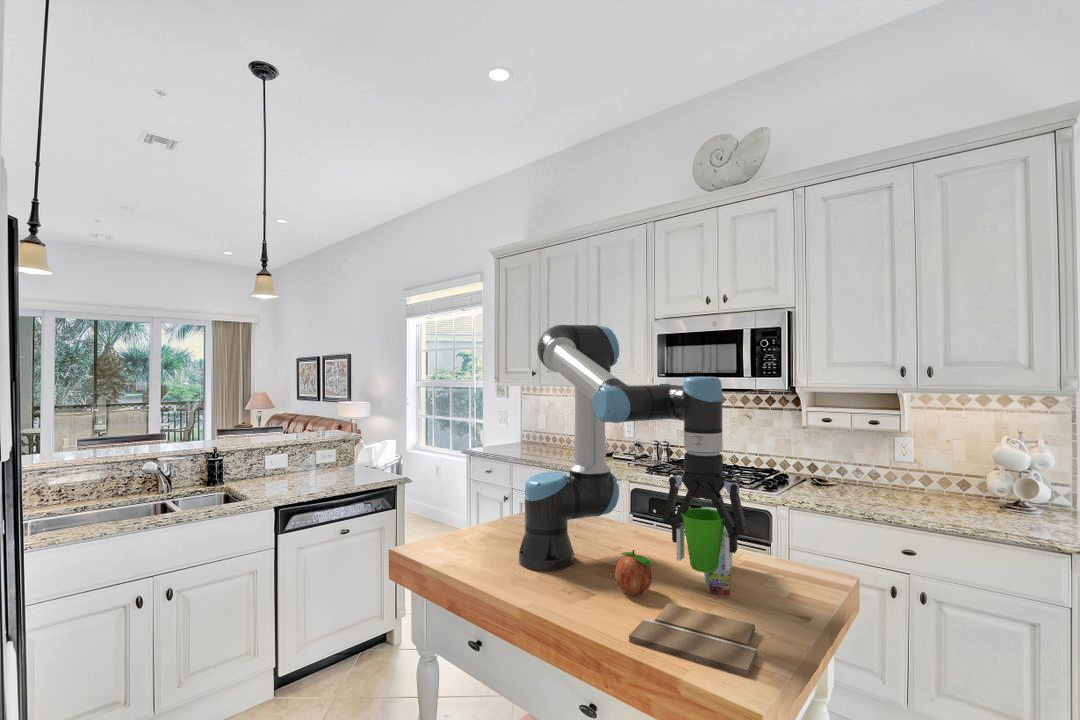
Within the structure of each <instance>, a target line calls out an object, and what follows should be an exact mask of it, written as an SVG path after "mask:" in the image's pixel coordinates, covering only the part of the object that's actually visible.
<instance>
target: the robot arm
mask: <svg viewBox="0 0 1080 720" xmlns="http://www.w3.org/2000/svg"><path fill="white" fill-rule="evenodd" d="M619 345H620V344H619V340H618V338H617V336H616V333H614V332H613V330H612V329H611V328H609V327H608V326H605V325H597V324H593V325H590V324H589V325H588V324H585V325H583V324H581V325H580V324H559V325H554V326H552V327H550V328H549V329H546V331H545V332H543V333H542V334H541V336H540V338H539V339H538V341H537V349H536V351H537V355H538V358H539V360H540V362H541V363H542V365H544V366H545V368H547V369H548V370H549V371H551V372H554V373H558V374H560V375H561V376H563V378H565V380H567V381H568V382H570V383H571V384H572V385H573V386H574V463H573V464H572V465H570V467H569V476H568V475H567V474H566V473H565V472H562V471H546V472H545V471H544V472H540V473H537V474H534V475H532V476H530V477H529V478H527V480H526V482H525V484H524V494H523V498H524V535H523V538H522V542H521V545H520V547H519V551H518V561H519V564H520V565H522V566H523V567H524V568H527V569H530V570H536V571H546V572H547V571H548V572H550V571H558V570H562V569H566V568H568V567H570V566H572V565H573V564H574V562H575V551H574V549H573V545H572V541H571V538H570V536H569V534H568V533H569V532H568V521H569V520H570V521H571V520H576V519H584V518H590V517H600V516H602V515H608V514H610V513H612V511H613V510H614V509H615V508H616V507H617V504H618V501H619V496H620V487H619V483H618V479H617V477H616V476H615V475H614V474H613V473H612V472H611V468H610V467H609V465H608V464H607V463H606V423H612V424H620V423H627V422H639V421H641V422H643V421H657V420H658V421H660V420H675V421H677V420H678V421H683V425H684V426H683V444H684V445H683V449H684V450H685V451H686V452H685V453H684V455H683V466H684V467H683V469H684V470H683V471H684V473H683V476H677V475H676V474H675V475H674V474H673V476H670V477H669V478H668V482H669V483H668V484H669V485H668V486H669V490H668V496H667V499H666V504H665V509H664V514H663V518H662V523H664V524H668V525H669V526H670V527H671V540H672V542H673V543H676V561H679V562H680V561H682V560H683V558H685V528H684V525H682V521H683V516H682V515H681V512H682V513H683V514H684V513H686V511H687V510H688V509H690V506H691V504H692V502H693V501H694V499H697V500H698V499H703V500H707V501H711V503H712V505H713V506H714V508H716V509H717V512H718V514H719V516H720V518H721V519H724V520H722V522H723V524H724V526H725V528H726V530H727V532H728V534H727V535H726V536H725V570H730V569H732V567H733V554H736V552H737V550H738V537H739V536H744V535H745V534H746V533H747V531H748V527H747V523H746V518H745V515H744V510H743V507H742V503H741V498H740V494H739V493H740V485H741V484H740V482H737V481H735V482H731V481H730V482H729V481H728V480H727V481H726V479H725V478H724V472H723V471H724V469H723V468H724V467H723V466H724V462H723V461H724V458H723V457H724V456H723V455H722V453H721V452H723V450H724V449H723V448H724V446H723V444H724V443H723V442H724V441H723V401H724V396H723V389H722V388H723V385H722V381H721V379H720V378H719V377H717V376H687V377H685V378H684V380H683V385H678V384H671V383H658V384H653V385H652V384H651V385H629V384H626V382H623V381H622V380H620V379H619V378H618V377H616V376H615V375H613V374H612V373H611V369H612V368H611V367H613V366H614V365H616V364H617V362H618V359H619V356H620V346H619ZM682 483H683V485H684V486H685V488H686V489H687V491H686V495H685V496H684V499H683V501H682V502H681V504H680V506H679V509H678V510H677V512H676V514H675V516H674V512H675V508H676V504H677V499H678V495H679V490H680V487H682ZM724 488H725V489H726V493H728V494H729V500H730V504H731V508H732V509H731V510H732V512H733V516H734V520H733V518H732V515H731V514H730V512H729V510H728V508H727V506H726V504H725V502H724V498H723V496H722V494H721V491H722V490H723V489H724ZM673 516H674V517H673ZM734 521H735V522H734ZM680 524H681V525H680Z"/></svg>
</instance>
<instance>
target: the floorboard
mask: <svg viewBox="0 0 1080 720" xmlns="http://www.w3.org/2000/svg"><path fill="white" fill-rule="evenodd" d="M628 642H630V643H633V644H635V645H636V644H637V645H639V646H642V647H646V648H648V649H653V650H656V651H659V652H662V653H665V654H666V653H667V654H669V655H673V656H676V657H679V658H682V659H687V660H689V661H692V662H695V663H699V664H702V665H706V666H710V667H712V668H716V669H719V670H722V671H726V672H729V673H733V674H736V675H739V676H743V677H746V678H749V675H750V673H751V670H752V668H753V666H754V663H755V661H756V658H757V656H758V650H757V648H754V647H752V646H749V645H748V646H744V645H740V644H737V643H733V642H729V641H726V640H722V639H718V638H715V637H711V636H707V635H704V634H700V633H696V632H693V631H689V630H685V629H681V628H678V627H674V626H670V625H667V624H663V623H659V622H656V621H655V620H652V619H647V618H643V619H642V621H641V622H640V623H639V624H638V625H637V626H636V627H635V629H633V631H632V632H631V633H629V635H628Z"/></svg>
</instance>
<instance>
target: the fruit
mask: <svg viewBox="0 0 1080 720" xmlns="http://www.w3.org/2000/svg"><path fill="white" fill-rule="evenodd" d="M620 555H623V556H622V557H621V558H620V559H619V560H618V562H617V564H616V566H615V571H614V572H615V573H614V576H615V580H616V584H617V585H618V587H619V588H620V590H621V591H623V592H624V593H625V594H627V595H630V596H640V595H643V594H644V593H646V592H647V591H648V589H649V588H650V586H651V584H652V581H653V571H652V565H653V564H652V562H651V561H650V559H649V558H647V557H645V556H642V555H640V554H636V553H635V549H632V552H631V551H624V552H622V553H620Z"/></svg>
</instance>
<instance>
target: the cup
mask: <svg viewBox="0 0 1080 720" xmlns="http://www.w3.org/2000/svg"><path fill="white" fill-rule="evenodd" d="M707 508H708V507H703V508H702V507H689V508H688V510H687V511H686V513H684V514H683V513H682V512H681V515H682V516H683V519H682V521H683V526H684V535H685V539H686V544H687V545H686V546H687V551H688V556H689V563H690V566H691V569H693V570H694V571H696V572H700V573H703V574H704V573H711V572H715V571H716V569H717V568H718V562H719V555H720V549H721V543H722V536H723V530H724V524H723V522H722V520H724V519H721V518H720V516H719V514H718V512H717V510H714V509H707Z"/></svg>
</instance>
